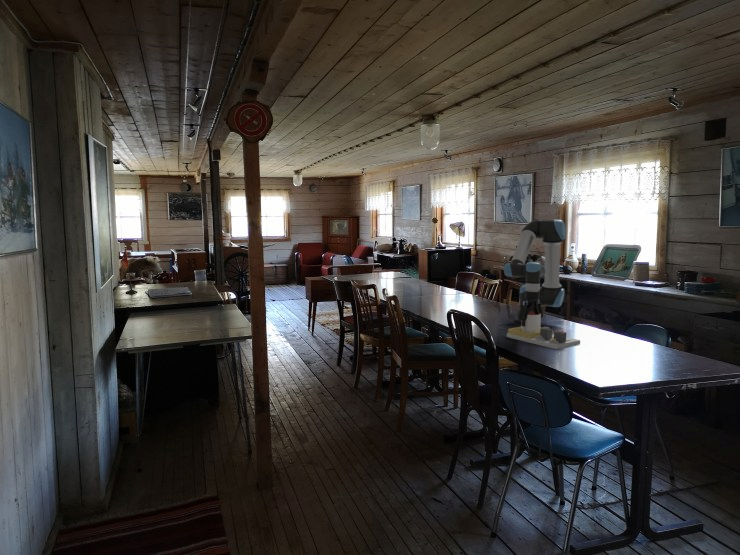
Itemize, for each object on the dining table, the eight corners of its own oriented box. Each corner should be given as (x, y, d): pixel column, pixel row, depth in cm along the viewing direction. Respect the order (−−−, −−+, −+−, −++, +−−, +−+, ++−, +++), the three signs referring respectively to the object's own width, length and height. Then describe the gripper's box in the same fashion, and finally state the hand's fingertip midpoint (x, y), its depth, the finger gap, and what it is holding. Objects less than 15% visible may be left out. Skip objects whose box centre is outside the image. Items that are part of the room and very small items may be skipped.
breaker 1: (544, 337, 280) (545, 326, 280) (552, 338, 277) (552, 327, 276) (540, 338, 278) (540, 326, 277) (547, 339, 274) (547, 328, 274)
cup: (538, 329, 294) (538, 312, 293) (542, 333, 284) (542, 315, 283) (519, 329, 295) (520, 311, 294) (523, 333, 285) (523, 315, 284)
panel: (530, 332, 302) (530, 324, 301) (580, 344, 275) (580, 335, 275) (506, 336, 291) (506, 328, 290) (555, 349, 264) (556, 340, 264)
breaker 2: (558, 340, 273) (559, 329, 273) (566, 342, 270) (566, 331, 269) (553, 341, 271) (554, 330, 271) (561, 342, 267) (561, 332, 267)
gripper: (540, 288, 296) (538, 327, 299) (512, 291, 284) (511, 332, 286) (551, 290, 290) (549, 329, 292) (524, 293, 277) (522, 334, 280)
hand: (530, 330), depth 289 cm, fingers closed on cup, 10 cm apart
